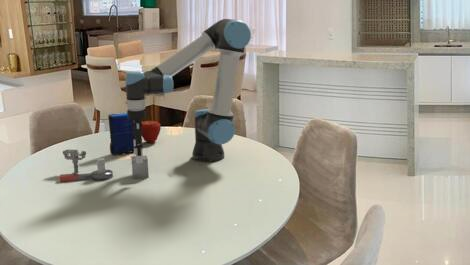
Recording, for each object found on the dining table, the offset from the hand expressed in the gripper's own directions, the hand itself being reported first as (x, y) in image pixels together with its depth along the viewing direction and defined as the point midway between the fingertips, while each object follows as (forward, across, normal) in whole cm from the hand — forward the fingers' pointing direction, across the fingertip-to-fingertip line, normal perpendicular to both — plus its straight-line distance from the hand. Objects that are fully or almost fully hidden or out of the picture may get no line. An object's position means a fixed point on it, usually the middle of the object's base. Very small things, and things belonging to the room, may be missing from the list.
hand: (138, 158), depth 238 cm
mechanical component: (+8, -13, -26) cm, 31 cm away
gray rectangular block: (+8, 0, +1) cm, 8 cm away
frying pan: (+8, -3, -22) cm, 23 cm away
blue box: (+8, -39, -4) cm, 40 cm away
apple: (+8, -55, +10) cm, 56 cm away
